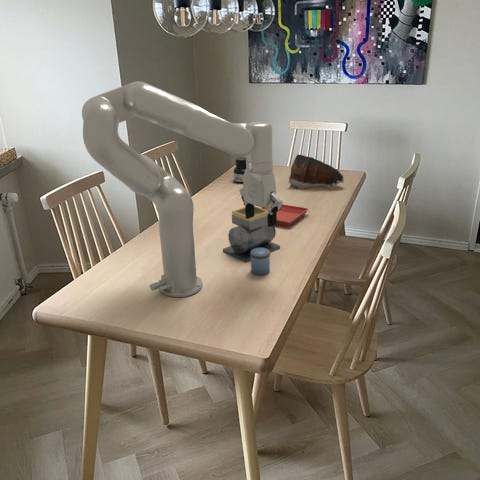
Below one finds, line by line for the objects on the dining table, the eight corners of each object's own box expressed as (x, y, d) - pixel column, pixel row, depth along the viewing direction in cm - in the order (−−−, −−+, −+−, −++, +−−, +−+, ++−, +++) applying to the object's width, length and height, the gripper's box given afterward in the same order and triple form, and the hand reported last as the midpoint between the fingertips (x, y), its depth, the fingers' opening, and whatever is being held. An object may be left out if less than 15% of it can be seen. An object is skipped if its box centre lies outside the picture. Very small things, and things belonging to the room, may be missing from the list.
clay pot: (346, 168, 215) (293, 155, 221) (337, 200, 220) (286, 186, 226) (349, 164, 228) (300, 152, 235) (341, 194, 234) (293, 181, 240)
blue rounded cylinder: (260, 278, 146) (259, 257, 143) (246, 271, 150) (246, 251, 147) (274, 271, 149) (274, 251, 146) (260, 265, 154) (260, 245, 151)
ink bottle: (229, 182, 241) (228, 159, 236) (240, 178, 248) (239, 155, 243) (245, 185, 236) (244, 161, 231) (255, 181, 242) (255, 157, 237)
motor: (245, 262, 156) (244, 221, 150) (222, 251, 164) (221, 212, 158) (280, 248, 165) (280, 209, 160) (256, 238, 174) (256, 201, 168)
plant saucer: (270, 208, 204) (270, 201, 203) (308, 215, 195) (309, 207, 194) (249, 222, 190) (249, 214, 189) (290, 230, 181) (290, 222, 180)
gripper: (230, 163, 140) (232, 217, 147) (271, 174, 128) (272, 232, 135) (249, 158, 144) (250, 211, 151) (290, 168, 132) (290, 225, 139)
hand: (260, 221), depth 143 cm, fingers open, 9 cm apart
